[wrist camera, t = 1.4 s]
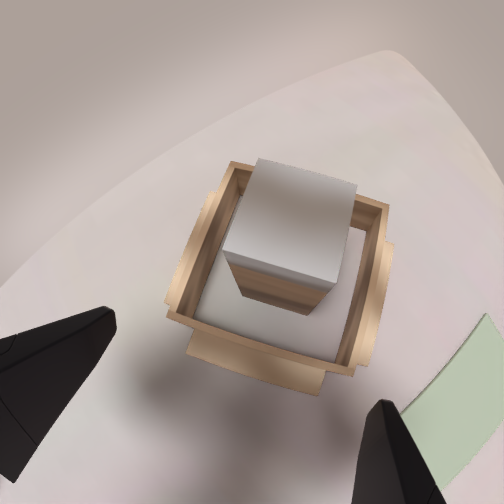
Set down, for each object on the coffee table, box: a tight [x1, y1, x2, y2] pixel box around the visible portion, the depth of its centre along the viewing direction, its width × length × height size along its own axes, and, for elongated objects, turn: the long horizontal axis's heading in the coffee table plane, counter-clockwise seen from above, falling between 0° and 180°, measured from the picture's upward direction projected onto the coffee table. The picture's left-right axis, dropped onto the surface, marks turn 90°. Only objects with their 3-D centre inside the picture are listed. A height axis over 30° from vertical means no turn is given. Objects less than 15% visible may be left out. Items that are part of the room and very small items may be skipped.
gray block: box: [222, 158, 357, 316], centre depth 18 cm, size 5×5×10 cm
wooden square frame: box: [164, 161, 394, 396], centre depth 21 cm, size 16×16×4 cm
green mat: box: [400, 313, 504, 492], centre depth 17 cm, size 14×10×1 cm
